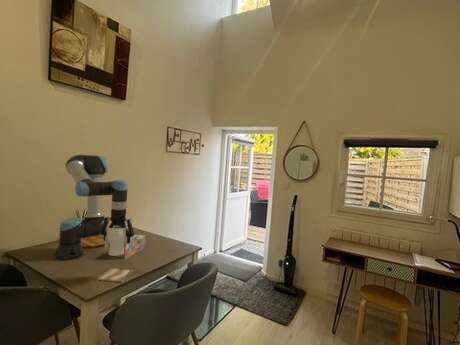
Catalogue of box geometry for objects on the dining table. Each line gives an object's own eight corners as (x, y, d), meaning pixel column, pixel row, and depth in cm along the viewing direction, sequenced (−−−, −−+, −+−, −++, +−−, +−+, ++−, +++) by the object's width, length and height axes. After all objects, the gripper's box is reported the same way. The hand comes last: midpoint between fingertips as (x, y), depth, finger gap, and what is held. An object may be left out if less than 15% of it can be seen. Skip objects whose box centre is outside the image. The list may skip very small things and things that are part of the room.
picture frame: (95, 280, 132) (95, 278, 132) (109, 268, 146) (109, 267, 146) (121, 282, 132) (121, 281, 132) (132, 270, 146) (132, 269, 146)
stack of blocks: (138, 246, 184) (139, 230, 183) (145, 248, 182) (146, 231, 181) (116, 257, 163) (117, 238, 163) (124, 259, 161) (125, 240, 161)
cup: (129, 250, 144) (131, 224, 143) (122, 257, 133) (123, 229, 133) (110, 249, 144) (112, 223, 143) (101, 256, 133) (103, 228, 132)
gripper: (94, 208, 134) (92, 248, 135) (136, 211, 133) (134, 252, 134) (101, 205, 141) (99, 243, 142) (142, 209, 141) (139, 247, 142)
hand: (116, 248), depth 138 cm, fingers closed on cup, 10 cm apart
